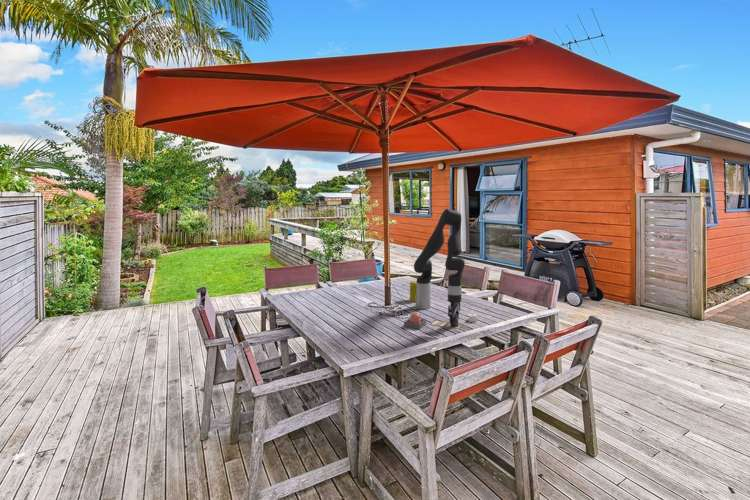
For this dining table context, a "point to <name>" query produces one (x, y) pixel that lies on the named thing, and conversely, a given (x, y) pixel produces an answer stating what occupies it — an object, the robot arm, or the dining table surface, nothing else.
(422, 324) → the dome collar
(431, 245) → the robot arm
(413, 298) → the food
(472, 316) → the die
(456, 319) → the pawn
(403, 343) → the dining table surface
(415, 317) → the dome
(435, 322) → the board
